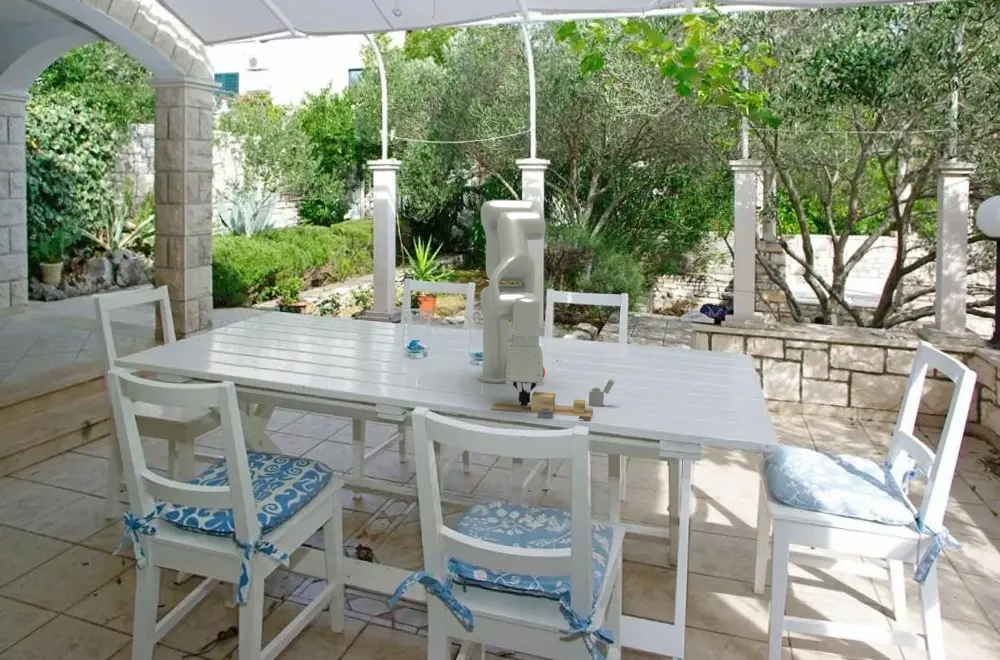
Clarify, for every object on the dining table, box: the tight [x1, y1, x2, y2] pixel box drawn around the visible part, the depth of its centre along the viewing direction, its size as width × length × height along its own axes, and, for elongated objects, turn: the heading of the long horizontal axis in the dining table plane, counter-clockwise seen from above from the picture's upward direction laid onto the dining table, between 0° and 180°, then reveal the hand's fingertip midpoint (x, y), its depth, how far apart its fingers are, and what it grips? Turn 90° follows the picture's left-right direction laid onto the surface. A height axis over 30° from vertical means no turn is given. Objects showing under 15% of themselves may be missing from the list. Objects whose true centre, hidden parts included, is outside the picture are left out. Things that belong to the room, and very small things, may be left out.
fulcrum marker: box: [537, 408, 554, 420], centre depth 202 cm, size 2×4×3 cm, turn 79°
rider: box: [530, 390, 556, 412], centre depth 209 cm, size 5×6×4 cm
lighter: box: [588, 378, 615, 407], centre depth 218 cm, size 7×2×8 cm, turn 86°
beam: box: [490, 398, 594, 421], centre depth 210 cm, size 12×28×4 cm, turn 79°
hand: (524, 404), depth 211 cm, fingers closed
